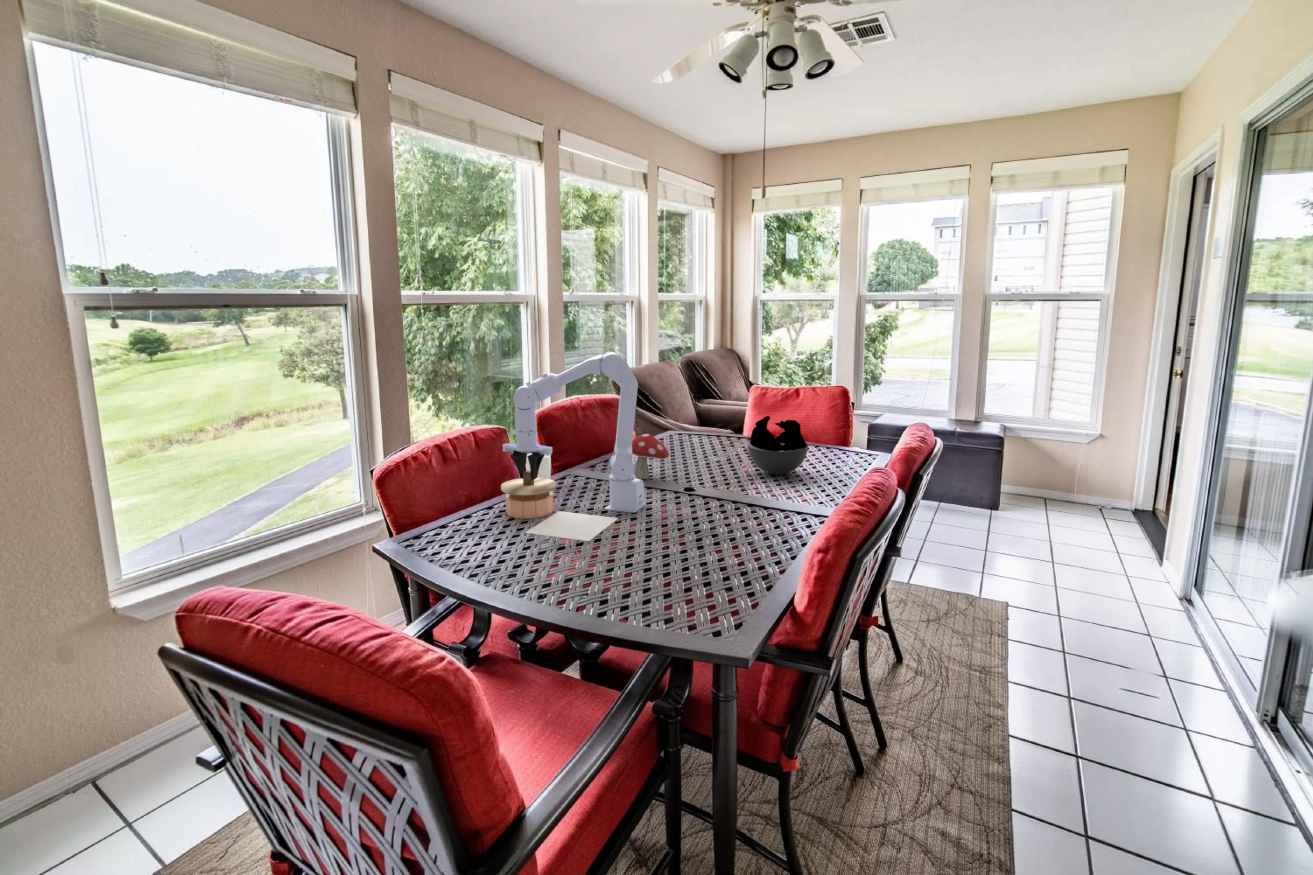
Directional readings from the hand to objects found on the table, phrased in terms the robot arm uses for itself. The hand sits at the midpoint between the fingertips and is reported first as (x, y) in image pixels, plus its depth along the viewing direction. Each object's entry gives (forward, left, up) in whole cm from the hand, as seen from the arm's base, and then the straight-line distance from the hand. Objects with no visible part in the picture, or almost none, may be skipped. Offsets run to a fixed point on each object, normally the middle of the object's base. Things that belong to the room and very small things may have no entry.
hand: (528, 478), depth 181 cm
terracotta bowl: (0, 0, -10) cm, 10 cm away
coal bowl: (-58, -63, -10) cm, 86 cm away
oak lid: (0, 0, -3) cm, 3 cm away
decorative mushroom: (-18, -43, -10) cm, 48 cm away
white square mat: (-17, +7, -10) cm, 21 cm away
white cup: (+11, -24, -10) cm, 28 cm away
